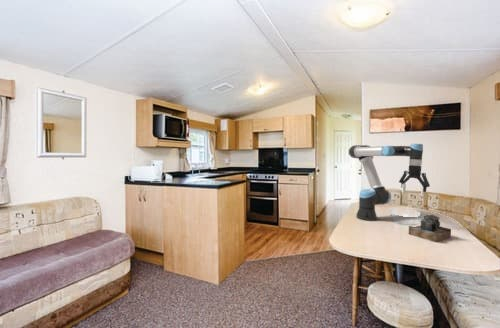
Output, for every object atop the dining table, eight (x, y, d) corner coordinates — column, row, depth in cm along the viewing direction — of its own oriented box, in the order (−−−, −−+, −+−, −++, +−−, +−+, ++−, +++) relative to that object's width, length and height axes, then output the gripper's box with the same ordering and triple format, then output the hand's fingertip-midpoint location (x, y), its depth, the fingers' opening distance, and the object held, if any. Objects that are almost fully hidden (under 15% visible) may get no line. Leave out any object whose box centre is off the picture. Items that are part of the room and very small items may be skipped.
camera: (439, 234, 154) (439, 218, 153) (419, 230, 160) (420, 215, 160) (439, 228, 164) (440, 214, 164) (421, 225, 171) (422, 211, 170)
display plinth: (408, 234, 165) (408, 225, 165) (423, 230, 174) (424, 222, 173) (435, 242, 151) (435, 233, 151) (450, 237, 159) (451, 229, 159)
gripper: (395, 163, 186) (393, 191, 188) (431, 167, 164) (428, 198, 166) (401, 163, 189) (399, 190, 192) (437, 166, 167) (434, 197, 169)
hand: (412, 194), depth 179 cm, fingers open, 13 cm apart
